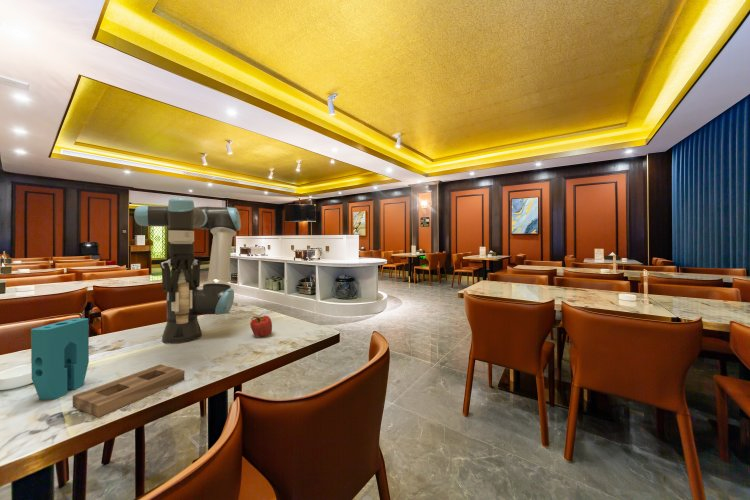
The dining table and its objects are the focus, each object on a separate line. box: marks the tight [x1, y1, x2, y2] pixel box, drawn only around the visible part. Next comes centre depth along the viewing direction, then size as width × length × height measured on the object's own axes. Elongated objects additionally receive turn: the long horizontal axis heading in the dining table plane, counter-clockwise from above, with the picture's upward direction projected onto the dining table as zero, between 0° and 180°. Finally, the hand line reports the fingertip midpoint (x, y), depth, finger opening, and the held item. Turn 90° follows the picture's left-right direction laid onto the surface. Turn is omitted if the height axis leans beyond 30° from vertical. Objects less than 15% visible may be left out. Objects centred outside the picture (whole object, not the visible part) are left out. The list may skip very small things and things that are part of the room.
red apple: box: [249, 315, 273, 338], centre depth 138 cm, size 11×10×10 cm
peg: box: [175, 281, 189, 324], centre depth 103 cm, size 4×4×14 cm
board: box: [72, 363, 185, 418], centre depth 86 cm, size 12×22×3 cm, turn 158°
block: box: [30, 317, 90, 401], centre depth 85 cm, size 12×5×20 cm, turn 1°
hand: (182, 309), depth 103 cm, fingers closed on peg, 4 cm apart
